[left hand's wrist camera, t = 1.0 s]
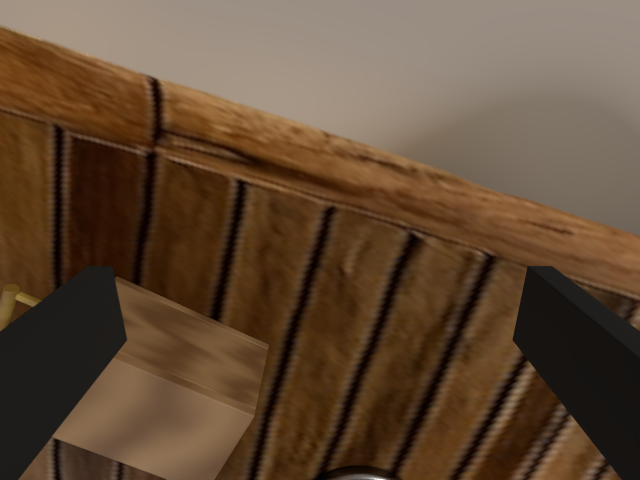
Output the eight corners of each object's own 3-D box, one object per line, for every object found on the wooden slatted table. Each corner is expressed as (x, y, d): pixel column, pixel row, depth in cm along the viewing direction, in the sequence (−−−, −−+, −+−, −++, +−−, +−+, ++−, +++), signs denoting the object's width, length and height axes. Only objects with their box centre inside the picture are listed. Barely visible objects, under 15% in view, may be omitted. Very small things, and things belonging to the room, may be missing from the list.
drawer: (17, 327, 41) (-53, 382, 34) (41, 253, 38) (-31, 295, 31) (206, 404, 45) (182, 470, 37) (241, 343, 42) (223, 400, 34)
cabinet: (85, 352, 44) (19, 425, 34) (116, 275, 40) (52, 333, 31) (229, 411, 47) (205, 493, 37) (269, 344, 43) (254, 416, 34)
